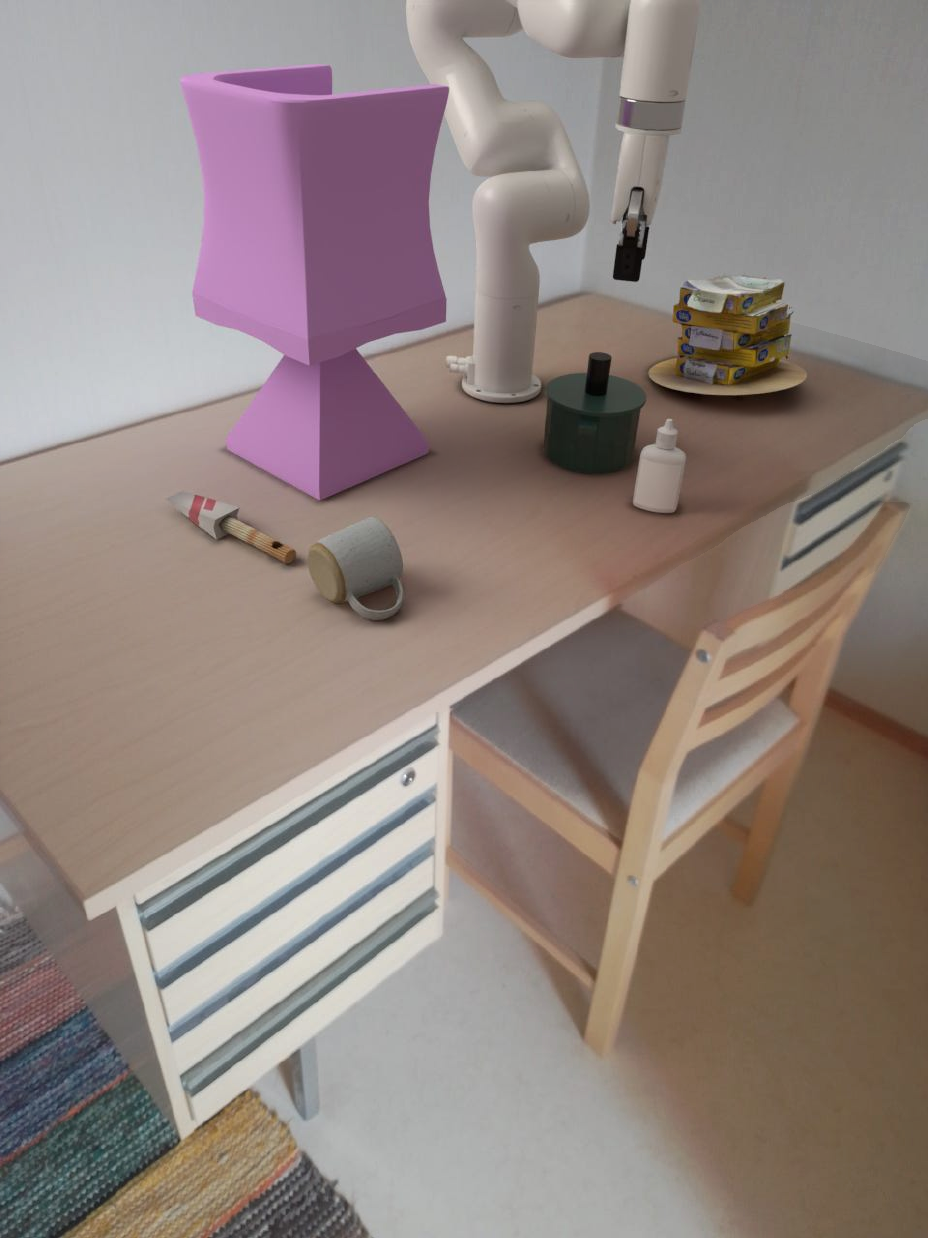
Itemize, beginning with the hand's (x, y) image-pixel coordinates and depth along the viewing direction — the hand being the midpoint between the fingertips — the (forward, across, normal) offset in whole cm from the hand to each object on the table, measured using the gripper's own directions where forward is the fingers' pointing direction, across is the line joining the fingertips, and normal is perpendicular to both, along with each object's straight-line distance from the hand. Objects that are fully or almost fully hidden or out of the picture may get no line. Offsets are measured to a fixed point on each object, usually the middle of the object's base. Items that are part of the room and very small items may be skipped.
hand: (629, 268), depth 119 cm
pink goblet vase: (+26, +10, -37) cm, 46 cm away
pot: (+26, 0, -2) cm, 26 cm away
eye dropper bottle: (+26, +13, +8) cm, 30 cm away
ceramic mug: (+26, +42, -22) cm, 54 cm away
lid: (+17, 0, -2) cm, 17 cm away
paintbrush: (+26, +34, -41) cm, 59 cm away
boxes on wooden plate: (+26, -32, +17) cm, 44 cm away
